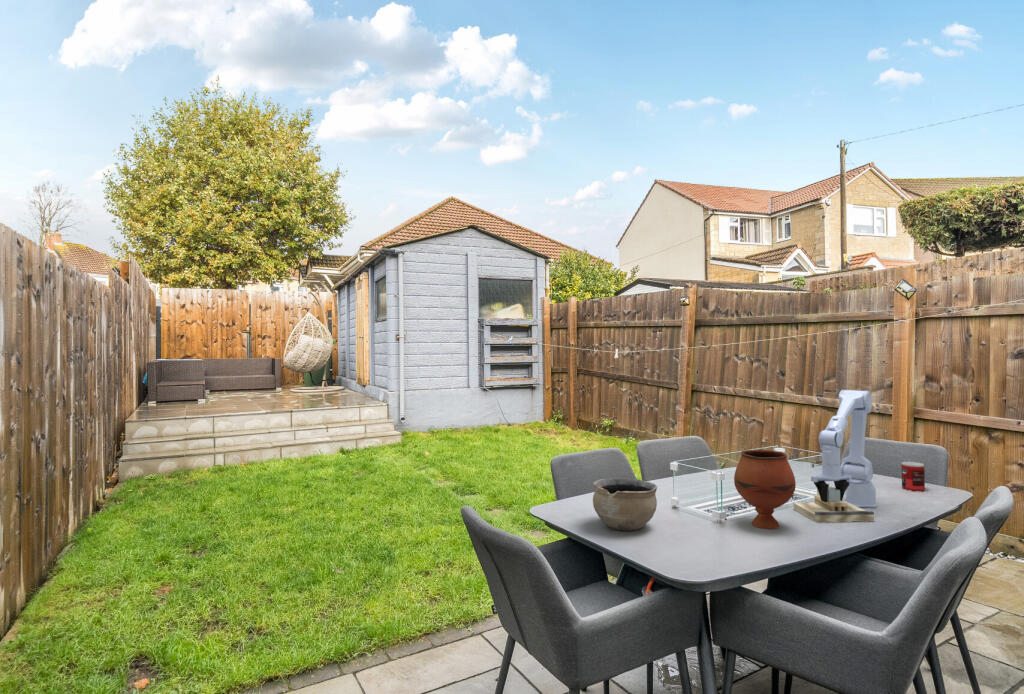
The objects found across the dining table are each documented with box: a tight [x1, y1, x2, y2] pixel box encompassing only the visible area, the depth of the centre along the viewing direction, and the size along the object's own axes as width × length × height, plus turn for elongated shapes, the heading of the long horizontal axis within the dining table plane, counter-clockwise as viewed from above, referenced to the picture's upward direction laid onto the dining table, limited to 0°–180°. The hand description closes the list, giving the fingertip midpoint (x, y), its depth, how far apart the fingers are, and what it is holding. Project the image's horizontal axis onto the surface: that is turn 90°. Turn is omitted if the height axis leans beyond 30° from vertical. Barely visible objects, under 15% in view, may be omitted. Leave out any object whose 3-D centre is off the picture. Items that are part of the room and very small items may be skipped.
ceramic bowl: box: [592, 477, 658, 531], centre depth 192 cm, size 22×22×15 cm
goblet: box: [733, 449, 797, 530], centre depth 191 cm, size 19×19×25 cm
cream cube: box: [816, 485, 835, 497], centre depth 205 cm, size 4×4×4 cm
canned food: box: [901, 461, 926, 492], centre depth 235 cm, size 8×8×11 cm
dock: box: [793, 501, 875, 523], centre depth 201 cm, size 20×16×4 cm
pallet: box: [814, 494, 847, 511], centre depth 203 cm, size 6×11×3 cm, turn 1°
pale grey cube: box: [827, 487, 840, 501], centre depth 201 cm, size 4×4×4 cm
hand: (831, 501), depth 201 cm, fingers open, 5 cm apart
